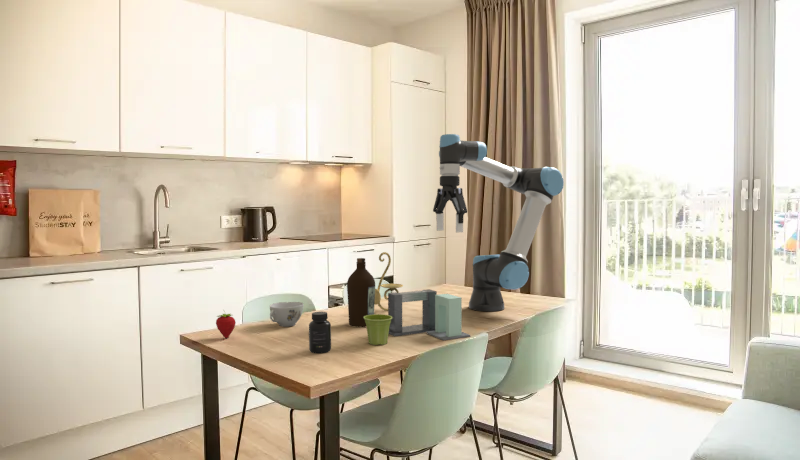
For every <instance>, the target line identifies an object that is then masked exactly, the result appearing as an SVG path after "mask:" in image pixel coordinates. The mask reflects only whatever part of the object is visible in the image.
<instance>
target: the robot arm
mask: <svg viewBox="0 0 800 460" xmlns="http://www.w3.org/2000/svg"><path fill="white" fill-rule="evenodd" d="M487 151H488V148H487V145H486V143H485V142H483V141H478V140H476V141H475V140H461V137H460V135H459V134H456V133H447V134H446V133H445V134H442V135H440V138H439V151H438V157H439V175H440V176H439V186H441V187H442V188H437V191H436V197H435V202H434V205H433V208H432V212H433V213H435V214H436V217H435V218H436V231H444V230H445V229H444V220H445V219H444V210H445V207H446V206H447V203H448V202H449V201H450V202H451V203H452V205H453V207H454V210H455V211H456V213H455V233H464V215H465V214H467V213H468V208H467V205H466V201H465V198H464V193H463V188H462V187H458V186H460V184H461V183H460V176H459V175H460V174H461V172H460V168H461V167H462V168H464V169H467V170H469V171H471V172H474V173H476V174H479V175H482V176H483V177H486V178H489V179H491V180H493V181H496V182H498V183H501V184H502V185H503V186H504V187H505V188H507V189H510V190H513V191H515V192H518V193H520V194H522V195H525V201H524V203H523V206H522V209H521V211H520V213H519V216H518V218H517V221H516V223H515V226H514V229H513V230H512V231H513V232H512V233H511V236H510V239H509V240H508V243H507V246H506V248H505V249H504V250H502V251H500V253H499V254H485V255H476V256H474V257H473V261H472V292H471V296H470V299H469V302H468V308H469V309H470V310H473V311H479V312H499V311H503V310H504V309H505V302H504V298H503V295H502V292H501V288H503V289H506V290H518V289H521V288H522V287H524V286H525V285H526V283H527V282H528V279H529V276H530V270H529V269H530V268H529V266H528V263H529V261H528V259H527V256H528V253H529V249H530V247H531V245H532V242H533V240H534V237H535V234H536V232H537V229H538V227H539V225H540V222H541V220H542V216H543V214H544V211H545V209H546V206H547V205H549V204H551V203H552V201H553V198H554V197H555V196H557V195H559V194H561V193H562V192H563V189H564V186H565V183H564V178H563V175H562V173H561V171H560V170H558V168H555V167H551V166H550V167H549V166H544V167H534V168H532V167H531V168H530V167H529V168H520V167H517V166H514V165H512V166H509V165H506V164H503V163H501V162H500V161H497V160H494V159H491V158H490V157H487V153H488V152H487Z"/></svg>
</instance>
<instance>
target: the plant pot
mask: <svg viewBox="0 0 800 460" xmlns="http://www.w3.org/2000/svg"><path fill="white" fill-rule="evenodd" d="M364 319H365V323H366V327H365V328H366V331H367V332H366V333H367V339H368V343H369V344H370V345H372V346H378V345H386V344H387V343H388V339H389V334H388V333H389V326H390V323H391V319H392V316H389V315H388V314H381V313H380V314H377V313H376V314H375V313H374V314H373V315H366V316H364Z"/></svg>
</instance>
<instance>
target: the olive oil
mask: <svg viewBox="0 0 800 460" xmlns="http://www.w3.org/2000/svg"><path fill="white" fill-rule="evenodd" d="M366 266H367V265H366V258H364V257H358V258H356V268H355V270H354V271H353V272H352V273H351V274H350V276H349V277H348V279H347V282H346V291H347V307H348V309H347V311H348V325H349V326H350V327H353V328H354V327H356V328H367V327H366V323H365V319H364V316H366V315H373V314H375V289H376V281H375V278H374V276H373V275H372V273H370V272H369V270H368V269H366Z"/></svg>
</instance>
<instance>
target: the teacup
mask: <svg viewBox="0 0 800 460" xmlns="http://www.w3.org/2000/svg"><path fill="white" fill-rule="evenodd" d="M269 310H270V313H269V319H270V320H271V321H272V323H276V324H278V325H279V326H280V327H283V328H285V327H286V328H287V327H294V326H295V325H296V324H297V323H298V322H299V320H300V319H301V317H302V314H303V311H304V303H303V302H300V301H288V302H287V301H281V302H275V303H272V304H270V305H269Z"/></svg>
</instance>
